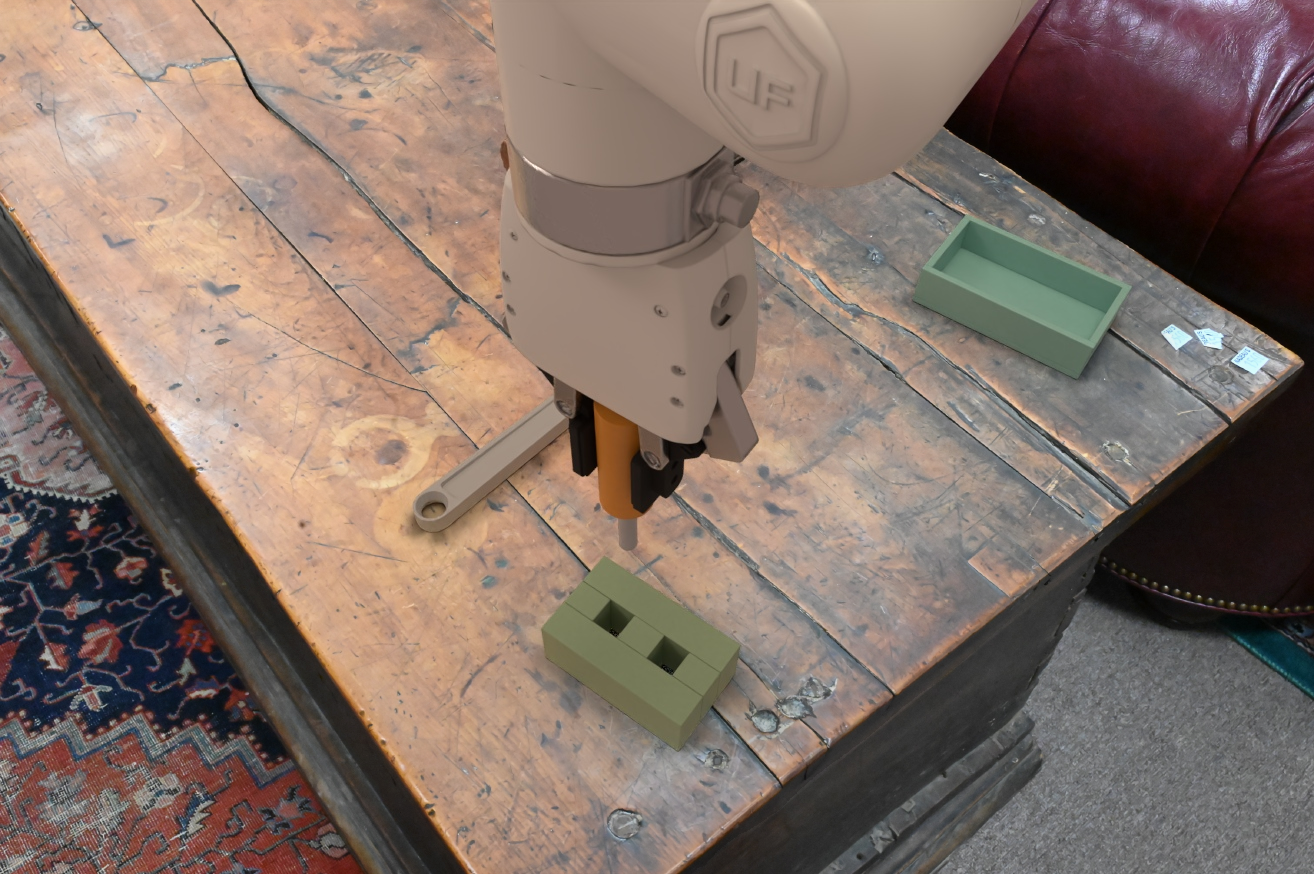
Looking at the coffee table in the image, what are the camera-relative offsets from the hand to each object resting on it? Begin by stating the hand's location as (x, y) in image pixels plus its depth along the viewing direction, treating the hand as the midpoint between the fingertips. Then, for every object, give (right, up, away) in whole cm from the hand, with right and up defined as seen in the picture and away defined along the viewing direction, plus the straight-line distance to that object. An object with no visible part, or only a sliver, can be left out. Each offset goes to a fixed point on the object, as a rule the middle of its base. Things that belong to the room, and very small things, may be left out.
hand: (626, 471), depth 49 cm
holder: (0, -12, +14) cm, 19 cm away
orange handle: (0, -4, +5) cm, 7 cm away
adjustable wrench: (-6, +3, +26) cm, 27 cm away
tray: (+30, +12, +33) cm, 47 cm away
